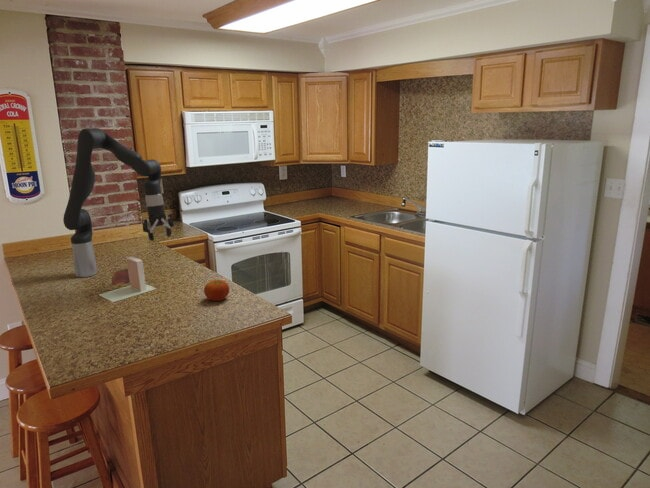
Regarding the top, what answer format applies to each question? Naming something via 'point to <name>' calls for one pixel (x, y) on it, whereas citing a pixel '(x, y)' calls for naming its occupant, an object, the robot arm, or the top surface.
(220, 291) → the fruit
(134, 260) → the white rectangular block
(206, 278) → the top surface
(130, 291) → the cutting board
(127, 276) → the wooden tablet
